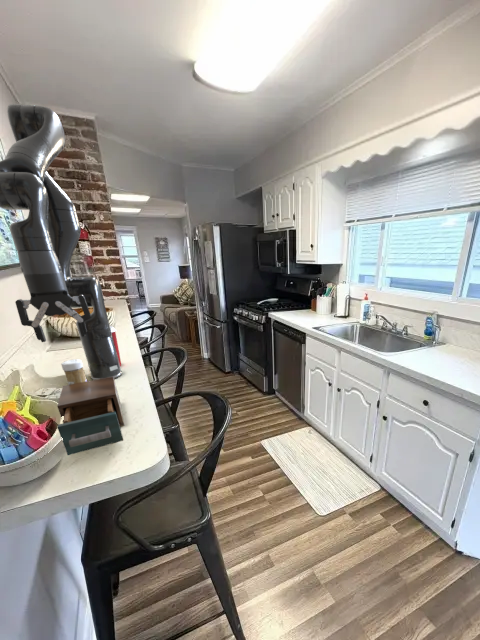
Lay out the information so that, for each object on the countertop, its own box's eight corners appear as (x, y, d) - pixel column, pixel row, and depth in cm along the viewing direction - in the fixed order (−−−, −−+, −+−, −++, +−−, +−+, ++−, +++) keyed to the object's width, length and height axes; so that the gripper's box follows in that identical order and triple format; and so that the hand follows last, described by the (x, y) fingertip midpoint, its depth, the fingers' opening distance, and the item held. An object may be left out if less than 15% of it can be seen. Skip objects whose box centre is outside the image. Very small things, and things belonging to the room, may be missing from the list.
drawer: (124, 449, 65) (116, 421, 62) (66, 466, 60) (54, 436, 58) (120, 417, 78) (113, 393, 76) (71, 428, 74) (63, 403, 71)
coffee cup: (123, 361, 124) (114, 324, 118) (125, 367, 117) (116, 328, 111) (99, 365, 120) (88, 327, 114) (100, 371, 113) (89, 331, 107)
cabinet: (124, 425, 76) (115, 394, 73) (69, 439, 71) (57, 406, 68) (121, 404, 87) (113, 376, 84) (72, 415, 82) (62, 385, 79)
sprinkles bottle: (95, 407, 86) (81, 361, 81) (76, 412, 84) (60, 365, 79) (94, 401, 90) (80, 357, 84) (75, 405, 87) (61, 360, 82)
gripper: (79, 270, 79) (96, 332, 85) (8, 273, 73) (32, 340, 79) (77, 270, 73) (95, 337, 79) (0, 274, 67) (27, 346, 73)
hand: (64, 338), depth 79 cm, fingers open, 8 cm apart
